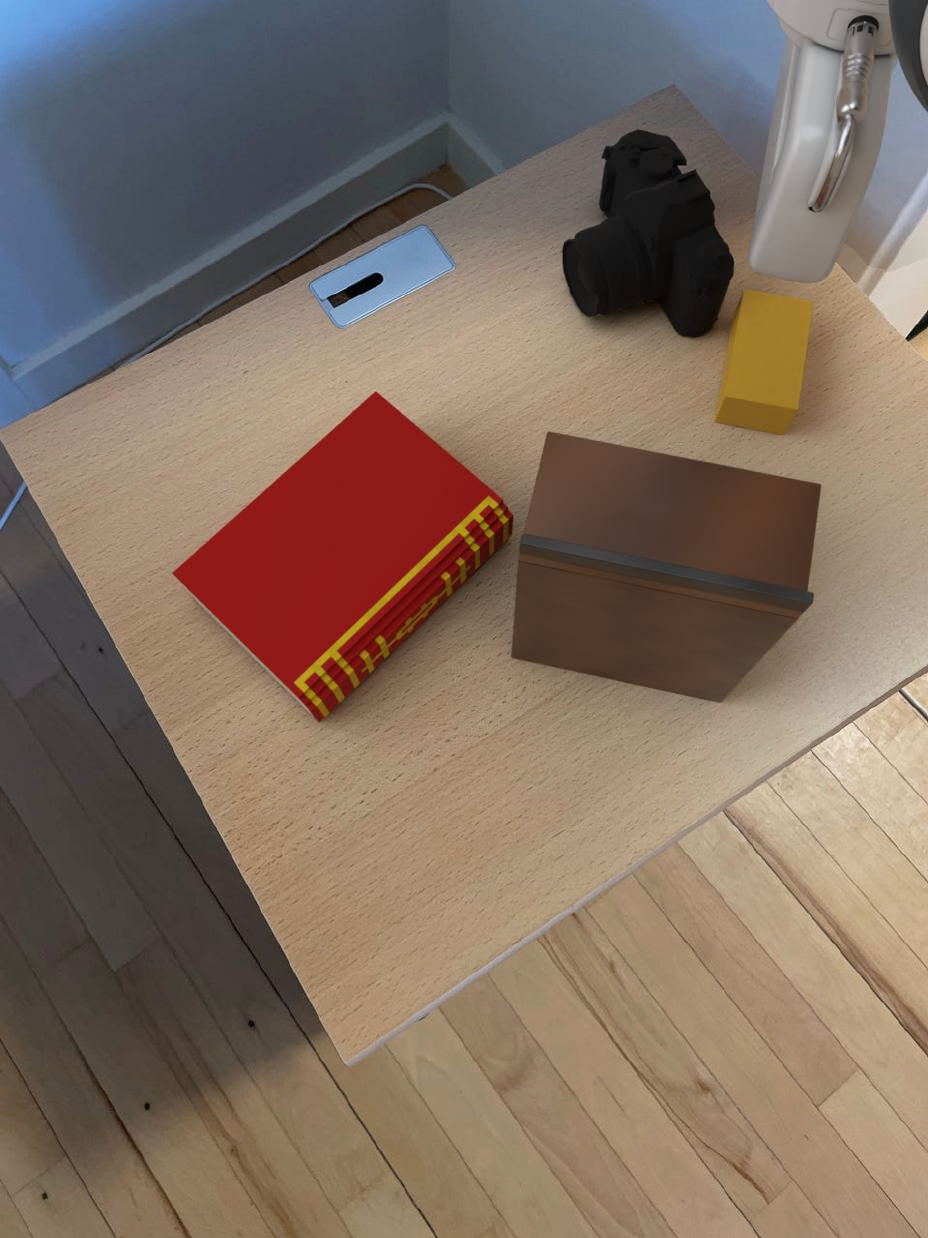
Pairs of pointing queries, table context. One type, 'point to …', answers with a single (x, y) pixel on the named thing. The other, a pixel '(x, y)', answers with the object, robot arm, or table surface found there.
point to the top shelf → (673, 524)
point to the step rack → (638, 632)
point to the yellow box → (764, 362)
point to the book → (346, 554)
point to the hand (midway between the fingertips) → (780, 191)
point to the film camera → (651, 239)
